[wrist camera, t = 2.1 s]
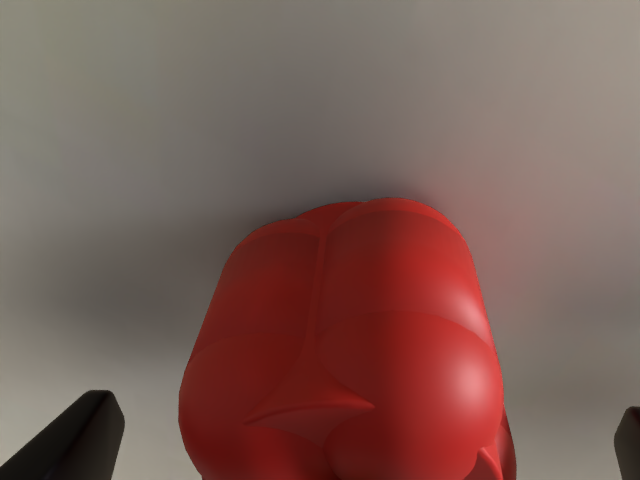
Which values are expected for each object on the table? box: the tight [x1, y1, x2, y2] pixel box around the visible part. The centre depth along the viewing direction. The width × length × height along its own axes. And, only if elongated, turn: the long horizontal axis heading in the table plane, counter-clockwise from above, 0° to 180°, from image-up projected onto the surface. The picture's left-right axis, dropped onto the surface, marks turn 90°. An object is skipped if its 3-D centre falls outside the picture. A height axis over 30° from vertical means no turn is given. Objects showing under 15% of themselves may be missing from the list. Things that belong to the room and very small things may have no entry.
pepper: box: [178, 198, 517, 480], centre depth 9 cm, size 6×6×7 cm
